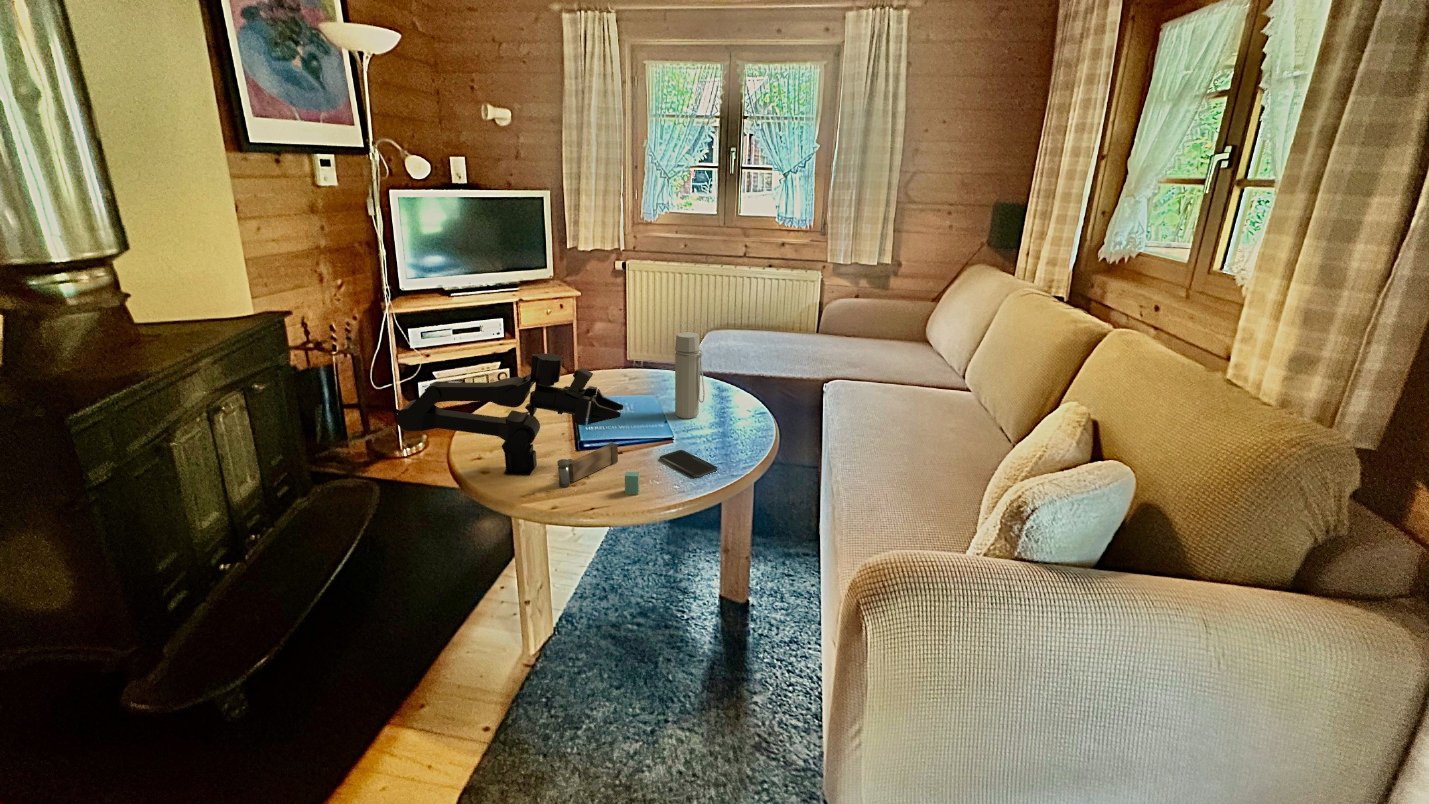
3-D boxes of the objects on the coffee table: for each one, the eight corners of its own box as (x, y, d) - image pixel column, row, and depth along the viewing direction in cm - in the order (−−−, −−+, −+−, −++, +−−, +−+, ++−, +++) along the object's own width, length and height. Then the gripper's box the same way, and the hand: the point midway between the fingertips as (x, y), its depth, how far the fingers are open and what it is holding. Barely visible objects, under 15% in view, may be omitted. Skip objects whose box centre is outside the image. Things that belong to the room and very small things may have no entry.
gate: (564, 488, 157) (562, 464, 155) (556, 484, 159) (554, 462, 157) (618, 461, 172) (618, 440, 170) (611, 459, 173) (610, 437, 171)
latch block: (625, 494, 156) (624, 475, 154) (626, 489, 158) (625, 471, 156) (638, 494, 156) (637, 476, 154) (639, 489, 158) (638, 472, 156)
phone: (695, 476, 163) (657, 456, 174) (695, 481, 164) (657, 460, 174) (719, 467, 168) (681, 448, 179) (719, 472, 169) (681, 452, 179)
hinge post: (558, 487, 158) (557, 469, 156) (560, 483, 160) (559, 464, 159) (568, 488, 158) (567, 469, 156) (570, 483, 160) (569, 465, 159)
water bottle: (670, 417, 202) (670, 336, 194) (681, 409, 209) (681, 330, 201) (699, 422, 199) (700, 339, 191) (708, 413, 206) (710, 333, 198)
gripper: (555, 371, 150) (625, 384, 152) (567, 361, 169) (629, 373, 170) (547, 420, 152) (616, 432, 154) (560, 404, 171) (622, 415, 172)
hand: (621, 411), depth 162 cm, fingers open, 9 cm apart
